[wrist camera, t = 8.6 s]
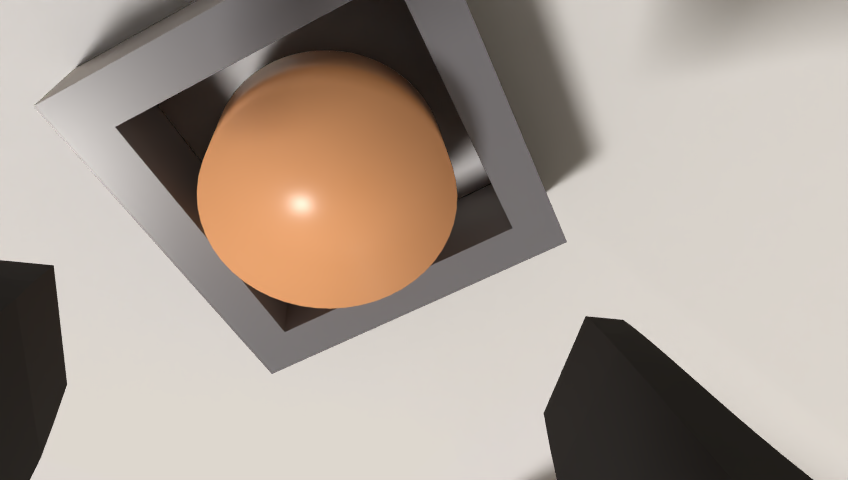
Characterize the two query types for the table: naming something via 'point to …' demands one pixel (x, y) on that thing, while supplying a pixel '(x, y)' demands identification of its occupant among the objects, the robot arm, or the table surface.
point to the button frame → (179, 167)
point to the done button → (327, 181)
